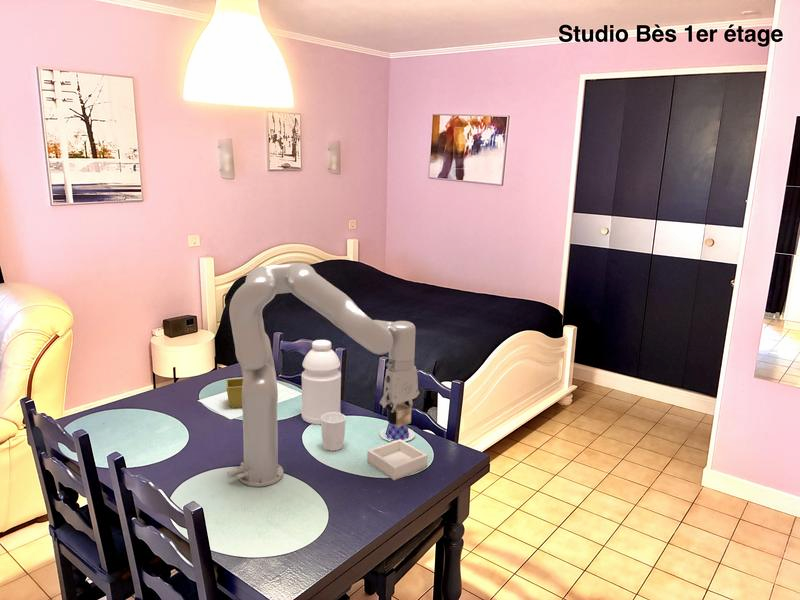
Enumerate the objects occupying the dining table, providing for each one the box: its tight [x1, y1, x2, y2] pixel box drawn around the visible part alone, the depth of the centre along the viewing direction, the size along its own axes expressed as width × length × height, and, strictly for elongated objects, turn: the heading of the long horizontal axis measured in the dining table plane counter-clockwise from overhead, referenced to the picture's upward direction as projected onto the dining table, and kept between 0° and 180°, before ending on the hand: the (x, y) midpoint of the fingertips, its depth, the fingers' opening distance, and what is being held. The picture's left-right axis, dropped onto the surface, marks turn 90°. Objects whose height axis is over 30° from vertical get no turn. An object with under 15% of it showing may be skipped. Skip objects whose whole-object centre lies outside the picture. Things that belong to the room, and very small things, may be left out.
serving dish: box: [366, 439, 429, 481], centre depth 181 cm, size 13×13×4 cm
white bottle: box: [301, 339, 342, 425], centre depth 209 cm, size 14×14×28 cm
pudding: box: [379, 422, 416, 442], centre depth 200 cm, size 12×12×5 cm
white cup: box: [320, 412, 347, 452], centre depth 190 cm, size 8×8×10 cm
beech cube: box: [387, 402, 413, 427], centre depth 178 cm, size 5×5×5 cm
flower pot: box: [225, 377, 243, 409], centre depth 219 cm, size 9×9×9 cm
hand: (399, 420), depth 178 cm, fingers closed on beech cube, 5 cm apart
